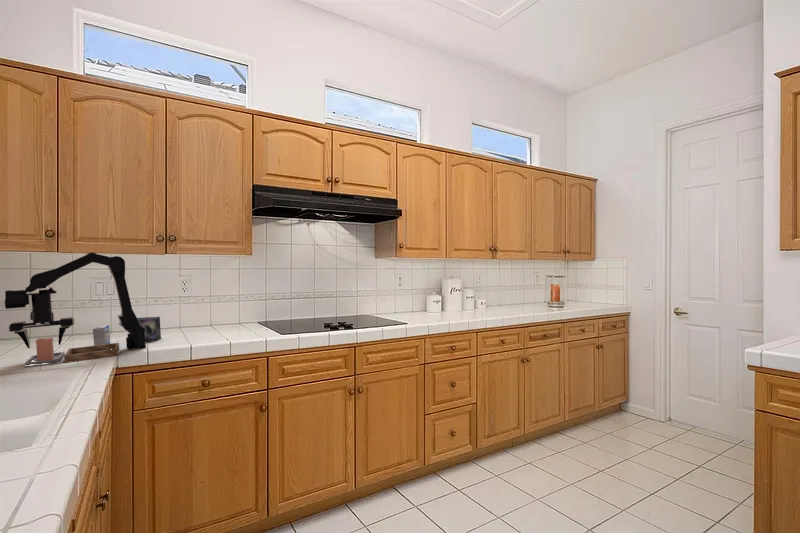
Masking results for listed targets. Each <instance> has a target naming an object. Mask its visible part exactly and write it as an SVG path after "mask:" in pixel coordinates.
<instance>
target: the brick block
mask: <svg viewBox="0 0 800 533" xmlns="http://www.w3.org/2000/svg"><path fill="white" fill-rule="evenodd" d="M35 344H36V345H35V346H36V347H35V348H36V355H37V361H44V360H52V359H53V358H54V353H55V350H54V338H53V336H52V337H43V338H38V339H37V340H36V341H35Z"/></svg>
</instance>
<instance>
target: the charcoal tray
mask: <svg viewBox="0 0 800 533" xmlns="http://www.w3.org/2000/svg"><path fill="white" fill-rule="evenodd" d="M65 354H66V352H65V351H59V352H54V358H53V359H52V360H44V361H37V354H36V355H32V356H30V357H29V359H27V361H26V362H25V363H24V366H25V365H30V364H42V363H55V364H58V363H57V362H60V361H61V362H62V361H63V359H64V355H65ZM32 360H34V361H36V362H31V361H32ZM61 362H60V363H61Z"/></svg>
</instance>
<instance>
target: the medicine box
mask: <svg viewBox="0 0 800 533" xmlns="http://www.w3.org/2000/svg"><path fill="white" fill-rule="evenodd" d="M110 333H111V332H110V325H109V324H103V325H98V326H96V327H94V328H92V337H93V338H92V339H93V346H95V345H103V344H111V334H110Z"/></svg>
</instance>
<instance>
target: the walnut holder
mask: <svg viewBox="0 0 800 533" xmlns="http://www.w3.org/2000/svg"><path fill="white" fill-rule="evenodd" d="M111 349H112V350H111ZM118 351H120V343H119V342H114V343H113V342H112V343H111V342H110V344H103V345H95V346H94V345H87V346H79V347H71V348H68V350H67V351H66V352H65V355H64V357H63V359H64V363H70V361H72V362H79V361H88V360H94V359H100V358H101V359H102V358H107V357H109V358H110V357H116V356H117V357H118V356H119V353H118Z"/></svg>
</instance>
